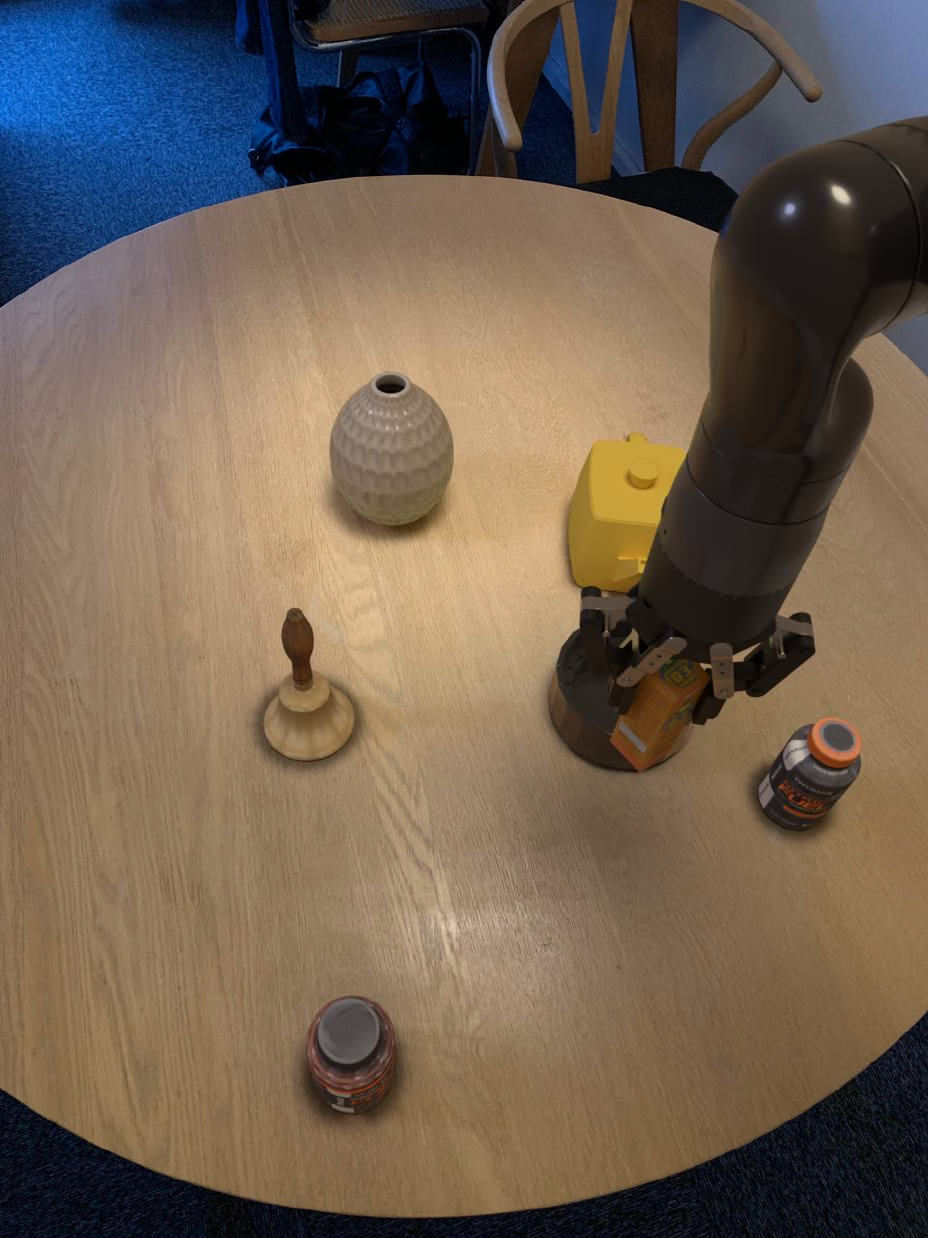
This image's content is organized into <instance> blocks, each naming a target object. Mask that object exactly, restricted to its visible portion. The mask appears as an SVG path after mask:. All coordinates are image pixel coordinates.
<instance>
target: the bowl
mask: <svg viewBox="0 0 928 1238" xmlns="http://www.w3.org/2000/svg"><path fill="white" fill-rule="evenodd" d="M632 629H633V627H632V626H631V624H630V623H629V622H628V620H627V618H623V619H620V620H619V621H618V622H617V626H616V628H614V629H613V630H610V644H612V645H615V646H618V647H619V646H620V645H621V644H622V643H623V642H624V641H625V640H626V639H627V637H628V636H629V635H630V634H631V632H632ZM698 664H699V665H700V666H701V667H702V665H701V664H702V663H698ZM609 679H610V675H608V676H606V677H603V678H597V677H594V676H592V675H591V674H590V672H589V668H588V663H587V658H586V654H585V649H584V645H583V640H582V635H581V631H580V627H579V628H577V629H575V630H574V631H572V633H571V634H570V635H569V636H568V637H567V639H566V640H565V641H564V643H563V644H562V645H561V647H560V650H559V653H558V657H557V661H556V663H555V668H554V673H553V677H552V682H551V687H550V691H549V695H548V699H549V708H550V716H551V718H552V719H553V722H554V724H555V726H556V729H557V730H558V733H559V734H560V735H561V737H562V738H563V739H564V740H565V741H566V742H567V743H568V744H569V745H570V746H571V747H572V748H573V749H574V750H575V751H576V752H577V753H578V754H581V755H582V756H585V757H586V758H588V759H590V760H591V761H592V762H593V763H597V764H599V765H603V766H607V767H611V768H615V769H636V768H635V767H634V766H633V765H632V764H631V763H630V762H629V761H628V760H627V758H626V757H625V756H624V755H623V754H622V753H621V752H620V751H619V750H618V749H617V748H616V747H615V746H614V745H613V744H612V742H611V741H610V739H611V737H612V734H613V732H614V729H615V727H616V724H617V722H618V719H619V717H620V715H617V714H615V707H611V706H609V704H608V702H607V701H608V682H609ZM693 725H694V724H693V723H692V712H691V714H690V716H689V718H688V720H687V721H686V723H685V725H684V727H683V729H682V731H681V732H680V734H679V736H678V738H677V740H676V742H675V743H674V745H673V747H672V749H671V751H669V752H668V753H667V754H665V755H664V756H663V757H661V758H660V759H659V760H657V761H656V762H655V763H653V764H652V765H650V766H649V767H651V766H653V765H656V764H660V763H663V762H664V761H666V760H667V759H668V758H670V757H671V756H672V755H674V754H675V753H677V752H678V751H679V750H680V748H681V747H682V745H683V744H684V742H685V740H686V739H687V737H688V735H689V734H690V731H691V730H692V727H693Z"/></svg>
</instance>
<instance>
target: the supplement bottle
mask: <svg viewBox="0 0 928 1238" xmlns="http://www.w3.org/2000/svg"><path fill="white" fill-rule="evenodd" d="M395 1032H396V1031H395V1027H394V1025H393V1023H392V1020H391V1018H390V1016H389V1014H388V1013H387V1011H385V1009H384V1008H383V1007H382V1006H381V1005H380V1004H378V1003H377V1002H376V1001H374V1000H372V999H370V998H368V997H365V996H362V995H357V994H354V995H344V996H340V997H338V998H335V999H332V1000H331V1001H329V1002H327V1003H326V1004H325V1005H324V1006H323V1007H322V1008H320V1009H319V1010H318V1012H317V1013H316V1014H315V1015H314V1017H313V1019H312V1021H311V1022H310V1024H309V1027H308V1031H307V1033H306V1040H305V1055H306V1060H307V1065H308V1067H309V1070H310V1074H311V1076H312V1079H313V1082H314V1085H315V1088H316V1090H317V1092H318V1094H319V1096H320V1097H321V1098H322V1101H323V1102H325V1104H327V1105H328V1106H329V1107H330V1108H332V1109H334V1110H336V1111H338V1112H341V1113H345V1114H352V1115H353V1114H361V1113H364V1112H367V1111H370V1110H371V1109H373V1108H374V1107H376V1106H377V1105H378V1104H380V1103H381V1102H382V1101H383V1100H384V1099H385V1097H386V1096H387V1095H388V1093H389V1092H390V1090H391V1087H392V1086H393V1083H394V1080H395V1076H396V1072H397V1071H396V1068H397V1059H398V1057H397V1045H396V1034H395Z"/></svg>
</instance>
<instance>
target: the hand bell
mask: <svg viewBox="0 0 928 1238" xmlns="http://www.w3.org/2000/svg"><path fill="white" fill-rule="evenodd" d="M280 634H281V635H280V637H281V643H282V647H283V651H284V653H285V655H286V656H287V658H288V659H289V660H290V662H291V670H292V671H291V673H289V674H288V675H287V676H286V677H285V678H284V679H282V682H281V683H280V685H279V689H278V694H277V695H276V696H275V697H274V698H273V699H272V701H271V702H270V703H269V704H268V706H267V707H266V711H265V713H264V717H263V722H262V723H263V724H262V725H263V733H264V736H265V738H266V741H267V742H268V744H269V745H270V746H271V748H273V749H274V750H275V751H276V752H278V753H279V754H281V755H282V756H283V757H286V758H288V759H292V760H296V761H302V762H303V761H307V762H308V761H317V760H321V759H324V758H326V757H329V756H331V755H333V754H335V753H336V752H338V751H339V750H340V749H342V747H343V746H344V745H345V744H346V743H347V742H348V741H349V739H350V737H351V735H352V734H353V732H354V727H355V725H356V723H355V722H356V715H355V710H354V707H353V704H352V701H350V699H349V698H348V697H347V696H346V694H345V693H343V692H342V691H341V690H340V689H338V688H336V687H335V686H332V685H330V683H329V681H328V679H327V678H326V676H325V675H323V674H322V673H321V672H319V671H316V670H313V669H312V665H311V658H312V655H313V651H314V647H315V635H314V630H313V627H312V624H311V622H310V621H309V620H308V618H307V617H306V616H305V613H304V612H303V610H302V609H301V608H299V607H292V608H289V609H288V610H287V612H286V615H285V619H284V621H283V624H282V627H281V632H280Z"/></svg>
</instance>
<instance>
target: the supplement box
mask: <svg viewBox="0 0 928 1238" xmlns="http://www.w3.org/2000/svg"><path fill="white" fill-rule="evenodd" d="M709 680H710V676H709V674H708V673H707V672H706V671H705V668H704V667H702V665H701V666H700V665H699V664H698V663H697V662H694V661H690V660H686V659H682V660H670V659H669V660H667V661H666V662H665V663H664V664H663V665H662V666H661V667H660V668H659V669H658V670H657V671H656V672H655V673H654V674H652V675H651V674H648V673H647V674H646V675H645V676H644V677H643V678H641V679H640V680H639V681H638V682H637V689H636V692H635V695H634V697H633V700H632V703H631V705H630V708H629V710H628V713H627V715H626V716H625V715H620V717H619V719H618V722H617V724H616V727H615V729H614V732H613V734H612V737H611V739H610V741H611V742H612V744H613V745H614V746H615V747H616V748H617V749H618V750H619V751H620V752H621V753H622V754H623V755H624V756H625V757H626V758H627V760H628V761H629V762H630V763H631V764H632V765H633V766H634V767H635V768H634V769H636V770H637V771H638V772H639V773H642V772H643V771H645V770H646V769H648V768H649V767H651V766H653V765H652V764H653V763H655V762H656V761H657V760H659V759H660V758H661V757H663V756H664V755H665V754H667V753H668V752H669V751H671V749H672V747H673V745H674V743H675V742H676V740H677V738H678V736H679V734H680V732H681V731H682V729H683V727H684V725H685V723H686V721H687V720H688V718H689V716H690V714H691V712H692V711H693V709H694V707H695V706H696V704H697V702H698V700H699V698H700V696H701V694H702V692H703V691H704V689H705V687H706V685H707V684H708V682H709ZM650 765H651V766H650Z"/></svg>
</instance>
